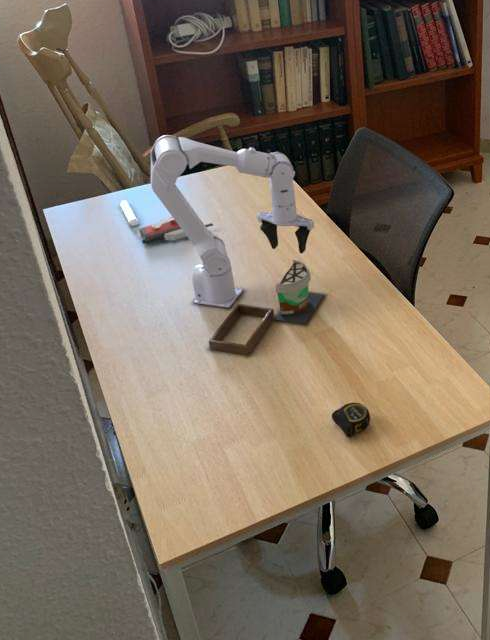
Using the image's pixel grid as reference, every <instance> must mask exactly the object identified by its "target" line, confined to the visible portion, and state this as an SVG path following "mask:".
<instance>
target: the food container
mask: <svg viewBox="0 0 490 640" xmlns="http://www.w3.org/2000/svg"><path fill="white" fill-rule="evenodd" d="M311 278H312V274H311V272H310V269H309V268H308V266H307V265H306V263H304V262H302V261H300V260H296V259H292V265H291V266H290V268H289V269H288V270H287V271H286V272H285V274H284V276H283V277H282V279H281V280H280V282H279V284H278V283H276V284H275V293H277V294H276V295H277V298H278V305H279V309H280V311H281V315H282V316H294V315H298V314H300V313H302V312H304V311H305V310H306V309H307V308H308V305H309V296H308V292H309V283H310V281H311V280H312V279H311Z"/></svg>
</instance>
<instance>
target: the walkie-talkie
mask: <svg viewBox="0 0 490 640" xmlns="http://www.w3.org/2000/svg"><path fill="white" fill-rule="evenodd" d="M204 225H205V226H206V228H209V227H213V226H214V224H213V223H212V222H210V223H207V224H204ZM138 230H139V235H140V238H141V239H142V240H141V243H142V244H143V245H154V244H157V243H161V242H164V241H177V240H180V239H183V238H188V237H187V235H186V234H185V233H184V231H183V230H182V229H181V227H180V226H179V225H178V223H177V222H176V221H175V219H174V218H173V217H172V216H171V217H168V218H163V219H161V220H160V221H158V222H157V223H156V222H155V223H151V224H150V225H149V224H148V225H146V226H142V227H140V228H139V229H138Z"/></svg>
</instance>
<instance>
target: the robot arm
mask: <svg viewBox="0 0 490 640" xmlns="http://www.w3.org/2000/svg"><path fill="white" fill-rule="evenodd" d="M200 163H208V164H215V165H222V166H228V167H235V169H236V170H237V172H238V173H239V174H245V175H250V176H256V177H261V178H266V179H269V191H270V199H271V208H272V211H269V212H268V211H267V212H265V211H260V212H259V213H258V214H256V218H257V222H258V223H261V224H260V226H259V229H260V231H261V232H262V233H263V234H264V236H265V237H266V239H267V240H268V242H269V244H270V247H271V249H273V250H275V249H276V248H277V247H278V246H279V237H278V226H279V227H297V230H295V231H294V234H295V236H296V239H297V244H298V252H299V254H304V253H305V251H306V248H307V243H308V238H309V235H310V233H311V231H312V230H313V229H314V228H315V220H314V219H311V218H308V217H306V216H303V215H300V214H298V212H297V205H296V193H295V185H294V182H293V181H294V177H295V175H296V171H295V169H294V167H293V165H292V163H291V161H290V159H289V158H288V156H287V155H285V154H284V153H282V152H280V151H274V152H269V153H267V152H264V151H263V152H262V151H257V150H256V149H255V147H249V148H242V149H240V150H238V151H233V150H229V149H226V148H222V147H218V146H213V145H212V144H211V145H210V144H207V143H203V142H199V141H195V140H193V139H190V138H187V137H185V136H184V137H183V136H178V137H176V136H175V135H171V134H165V135H161V136H159V137H158V138H157V139H156V140H155V142H154V144H153V146H152V147H151V150H150V186H151V189H152V191H153V193H154V194H155V195H156V197H157V198H158V200H159V201H160V203H161V204H162V205H163V206H164V208H165V209H166V210H167V211H168V213H169V214H170V216H171V217H173V218H174V219H175V221H176V222H177V223H178V225H179V226H180V227H181V229H182V230H183V231H184V233H185V234H186V235H187V237H186V238H188V240H189V241H190V243H192V245H193V246H194V248H195V250H196V253H197V254H198V257H199V258H200V260H201V261H202V263H200V264H197V265H196V266H195V267H194V269H193V270H192V275H191V281H192V286H193V292H194V297H195V300H194V303H195V304H198V305H199V304H200V305H206V306H212V307H221V308H227V309H229V308H230V307H231V306H232V305H233V304H234V302H235V301H236V300H237V298H238V297H239V296H240V295H241V293H242V292H243V289H242V288H236V287H235V280H234V274H233V268H232V263H231V259H230V257H229V256H228V253H227V249H226V244H225V242H224V241H223V239H221V238H220V237H218V236H216V235H215V234H214V233H213V232H212V231H211V230H210V229H208V227H206V226H205V225H206V224H205V223H204V222H203V221H202V219H201V218H200V216H199V215H198V214H197V212H196V211H195V210H194V208H193V206H192V205H191V204H190V202H189V201H188V200H187V198H186V197H185V195H184V194H183V193H182V192H181V191H180V189H179V188H178V186H177V185H176V183H177V180H178V179H179V177H181V175H182V174H183V173H184V172H185V170H186V168H187V165H188V168H189V170H191V169H193V168H194V167H195V166H197V165H198V164H200Z"/></svg>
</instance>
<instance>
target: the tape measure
mask: <svg viewBox="0 0 490 640" xmlns="http://www.w3.org/2000/svg"><path fill="white" fill-rule="evenodd" d="M331 418H332V422H334V423H335V424H336V425H337V426H338V427H339V429H341V431H342V432H343V433H344V435H345V436H346V437H347V438H348V439H350V438H352V437H354V436H355V434H361V433H363V432H364V431H366V429H367V428H368V426H370V421H371V414H370V410H369V409H368V408H367V407H366V406H365V404H362V403H360V402H348V403H346V404H344V405H342V406H341V407H340V408H338V409H336V410H334V411H333V412H332V413H331Z"/></svg>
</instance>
